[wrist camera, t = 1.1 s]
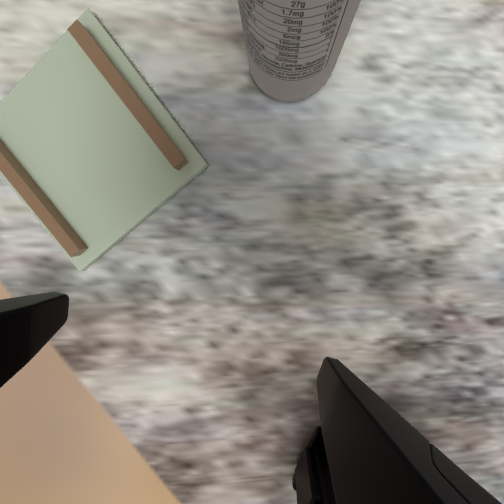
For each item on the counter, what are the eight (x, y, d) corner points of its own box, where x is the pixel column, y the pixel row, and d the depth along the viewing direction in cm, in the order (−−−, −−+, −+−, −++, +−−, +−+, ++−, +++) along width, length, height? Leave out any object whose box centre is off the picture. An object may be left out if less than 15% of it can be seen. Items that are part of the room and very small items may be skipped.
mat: (208, 165, 20) (203, 161, 18) (85, 270, 22) (70, 274, 20) (93, 14, 19) (77, -4, 17) (-23, 138, 21) (-47, 131, 20)
